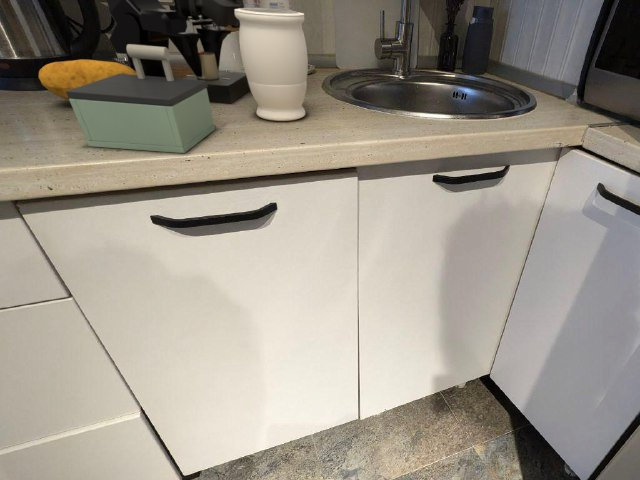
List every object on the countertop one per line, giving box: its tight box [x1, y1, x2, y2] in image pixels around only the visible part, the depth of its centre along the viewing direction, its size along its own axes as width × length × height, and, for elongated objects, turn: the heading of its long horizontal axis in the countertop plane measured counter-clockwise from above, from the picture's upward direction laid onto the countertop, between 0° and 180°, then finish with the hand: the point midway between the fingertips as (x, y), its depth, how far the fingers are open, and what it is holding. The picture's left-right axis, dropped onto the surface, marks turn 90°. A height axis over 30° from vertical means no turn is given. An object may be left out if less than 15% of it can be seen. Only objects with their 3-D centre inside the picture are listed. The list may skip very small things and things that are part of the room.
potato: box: [38, 58, 137, 101], centre depth 65 cm, size 8×14×7 cm, turn 108°
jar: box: [235, 7, 309, 122], centre depth 65 cm, size 11×10×15 cm
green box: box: [68, 88, 216, 154], centre depth 55 cm, size 11×13×6 cm
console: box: [184, 70, 251, 104], centre depth 77 cm, size 12×10×3 cm
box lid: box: [66, 44, 208, 106], centre depth 52 cm, size 12×13×5 cm
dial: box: [196, 50, 219, 80], centre depth 74 cm, size 4×4×4 cm
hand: (207, 74), depth 75 cm, fingers closed on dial, 4 cm apart
